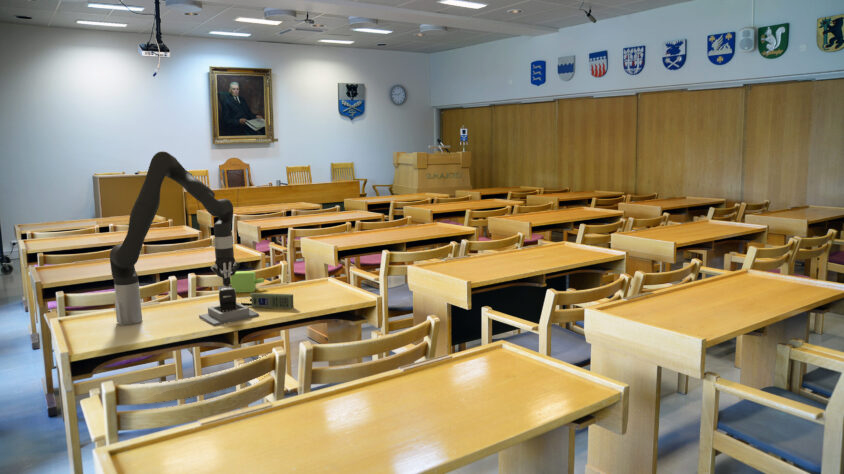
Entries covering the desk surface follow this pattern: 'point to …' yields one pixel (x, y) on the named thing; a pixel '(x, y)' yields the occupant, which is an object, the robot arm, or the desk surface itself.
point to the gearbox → (244, 281)
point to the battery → (227, 299)
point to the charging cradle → (227, 314)
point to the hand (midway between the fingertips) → (226, 285)
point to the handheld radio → (270, 300)
